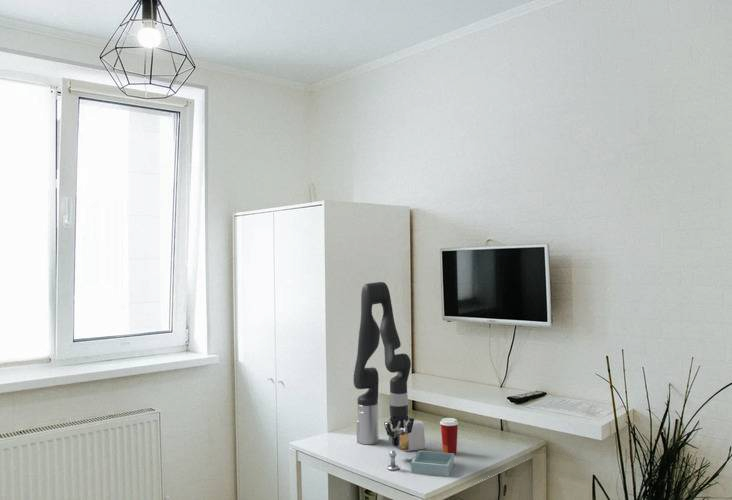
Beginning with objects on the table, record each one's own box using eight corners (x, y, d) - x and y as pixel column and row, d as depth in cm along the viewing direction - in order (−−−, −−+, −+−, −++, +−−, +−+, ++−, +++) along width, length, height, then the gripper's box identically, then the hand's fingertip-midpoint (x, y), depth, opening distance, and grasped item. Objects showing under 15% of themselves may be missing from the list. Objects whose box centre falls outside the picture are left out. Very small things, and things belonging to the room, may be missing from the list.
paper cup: (461, 451, 247) (460, 418, 247) (456, 457, 240) (455, 423, 240) (443, 449, 250) (442, 416, 250) (438, 454, 243) (437, 421, 243)
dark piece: (402, 451, 231) (402, 436, 231) (388, 444, 240) (388, 429, 240) (410, 449, 233) (410, 434, 233) (396, 442, 242) (396, 428, 242)
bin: (411, 472, 224) (411, 462, 224) (419, 460, 237) (419, 450, 237) (448, 476, 219) (448, 465, 219) (454, 463, 233) (454, 453, 233)
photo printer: (404, 452, 247) (403, 423, 247) (400, 449, 251) (399, 420, 251) (426, 449, 250) (425, 420, 250) (422, 446, 254) (421, 418, 254)
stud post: (386, 470, 227) (385, 452, 227) (389, 466, 231) (388, 448, 231) (396, 471, 225) (396, 453, 225) (399, 467, 230) (399, 449, 230)
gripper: (407, 398, 244) (408, 439, 244) (379, 403, 236) (380, 445, 236) (418, 402, 237) (419, 444, 237) (389, 407, 230) (390, 451, 230)
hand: (399, 444), depth 237 cm, fingers closed on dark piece, 4 cm apart
